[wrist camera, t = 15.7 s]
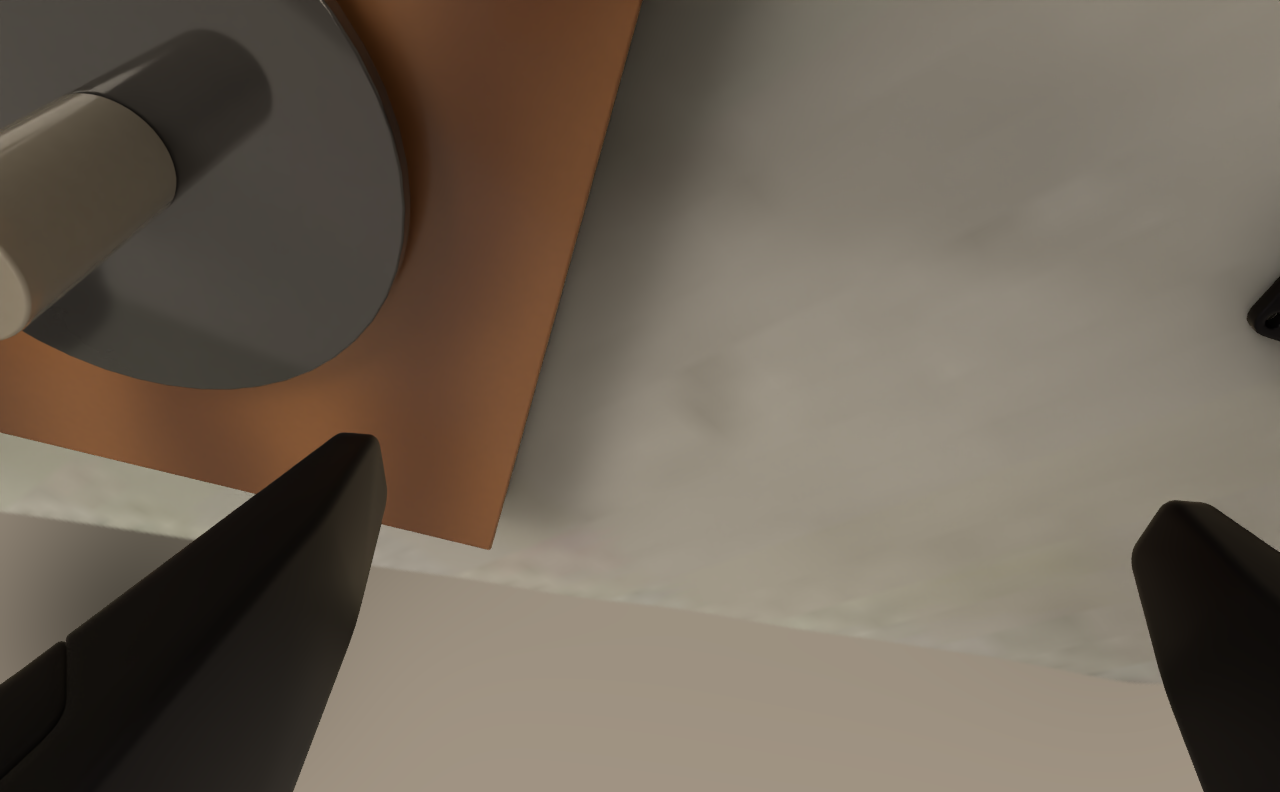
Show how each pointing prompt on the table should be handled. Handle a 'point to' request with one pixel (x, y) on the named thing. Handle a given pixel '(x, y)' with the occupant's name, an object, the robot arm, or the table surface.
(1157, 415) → the table surface
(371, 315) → the lid
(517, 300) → the board
